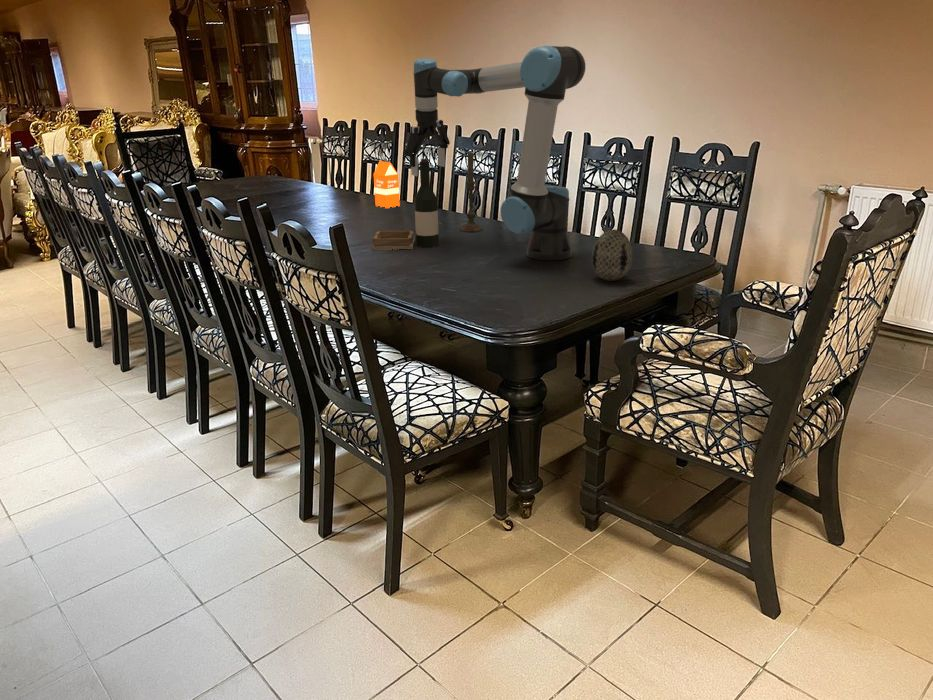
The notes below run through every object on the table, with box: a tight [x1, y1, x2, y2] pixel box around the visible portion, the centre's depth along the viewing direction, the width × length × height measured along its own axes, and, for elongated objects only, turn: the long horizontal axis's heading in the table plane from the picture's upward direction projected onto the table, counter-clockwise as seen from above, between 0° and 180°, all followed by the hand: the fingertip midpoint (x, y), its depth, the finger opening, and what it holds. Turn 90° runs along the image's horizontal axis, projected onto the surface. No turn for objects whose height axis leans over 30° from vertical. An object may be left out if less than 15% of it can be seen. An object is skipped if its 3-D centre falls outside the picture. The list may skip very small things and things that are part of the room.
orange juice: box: [373, 160, 401, 209], centre depth 316 cm, size 8×9×20 cm
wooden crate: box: [371, 230, 416, 251], centre depth 248 cm, size 14×14×4 cm
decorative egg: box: [591, 229, 634, 282], centre depth 202 cm, size 12×12×15 cm
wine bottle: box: [414, 158, 440, 248], centre depth 243 cm, size 8×8×30 cm
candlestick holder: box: [459, 151, 484, 233], centre depth 265 cm, size 9×9×30 cm
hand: (428, 170), depth 244 cm, fingers open, 13 cm apart
